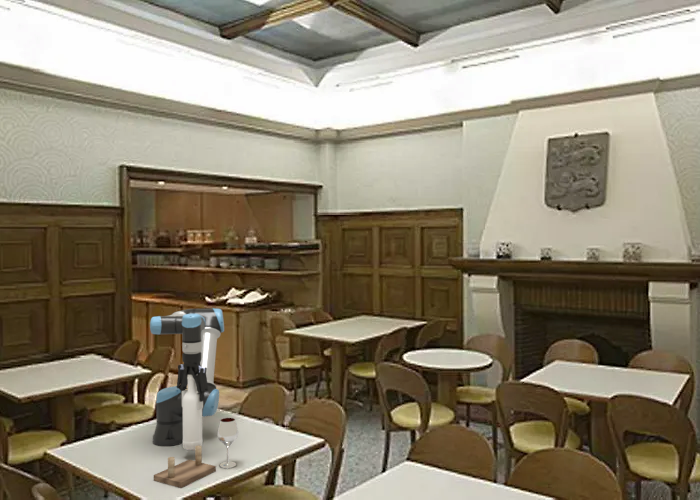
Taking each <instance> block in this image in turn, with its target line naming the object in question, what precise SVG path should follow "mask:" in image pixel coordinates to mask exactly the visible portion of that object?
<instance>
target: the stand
mask: <svg viewBox="0 0 700 500" xmlns="http://www.w3.org/2000/svg"><path fill="white" fill-rule="evenodd" d="M202 448H203V445H202V446H200V445H198V446H195V450H194V454H195V455H194V456H195V457H194V459H195V460H194V459H193V460H192V459H187V460H184V461H183V462H180V463H178V464H176V463H175V461H176V458H175V456H168V458H167V469H164V470H162V471H159V472H157V473H155V474H153V481H154V482H157V483H162V484H164V485H168V486H172V487H175V488H180V489H182V488H183V489H184V488H185V487H186V486H189V485H190V484H192V483H194V482H197V481H199V480H201V479H203V478H205V477H208V476H209V475H210V474H213V473H215V472H216V471H217V468H216V467H217V466H216V465H213V464H209V463H205V462H203V461H202V460H203V459H202V458H203V456H202V455H203V453H202V452H203V450H202Z"/></svg>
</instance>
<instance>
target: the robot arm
mask: <svg viewBox="0 0 700 500" xmlns="http://www.w3.org/2000/svg"><path fill="white" fill-rule="evenodd" d="M224 321H225V320H224V313H223V310H222V309H221V308H214V307H212V308H187V309H182V310H179V311H174V312H173V313H171V314H170V315H163V316H162V315H158V316H152V317H151V318H150V322H149V328H150V329H149V330H150V334H152V335H182V336H181V337H182V344H181V346H182V348H181V349H182V354H181V355H182V362H183V363H182V364H178V365H177V371H178V372H177V380H176V381H177V382H176V385H175V386H170V387H169V386H168V387H165V388H162V389H160V390H159V391H158V392H157V394H156V401H155V403H156V405H155V406H156V425H155V429H154V431H153V435H152V444H153V445H155V446H161V447H168V446H169V447H171V446H176V445H180V444H183V397H184V395H185V394H186V392H187V391H188V379H187V377H188V374H189V375H192V376H193V378H194V380H195V383H196V386H197V391H198V393H197V410H200V409H202V418H203V417H204V418H205V417H212V416H215V414H216V412H217V410H218V406H219V401H220V389H219V388H218V389H217V385H216V384H215V383H214V379H215V366H216V365H215V364H216V355H217V344H218V342H217V341H218V339H219V338H220V337H221V333H224V332H225V323H224Z"/></svg>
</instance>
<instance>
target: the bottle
mask: <svg viewBox="0 0 700 500" xmlns="http://www.w3.org/2000/svg"><path fill="white" fill-rule="evenodd" d="M187 379H188V384H187V390H188V391H187V392H186V394H185V395H184V397H183V443H182V448H183V450H186V451H195V446H198V445H200V446H202V447H203V444H204V443H203V442H204V441H203V416H202V409H200V410H197V393H198V391H197V386H196V383H195V380H194V378H193V376H192V375H189V374H188V377H187Z"/></svg>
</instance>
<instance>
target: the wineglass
mask: <svg viewBox="0 0 700 500" xmlns="http://www.w3.org/2000/svg"><path fill="white" fill-rule="evenodd" d="M216 434H217V435H216V436H217V439H218V440H219V442H220V443H222V444H223V445H224V446H225V447H226V461H225V462H222V463H220V464H219V467H220V468H222V469H232V468H234V467H236V465H237V463H236V462H234V461H230V447H231V445H233V443H234V442H235V441H236V440H237V439H238V437H239V428H238V425H237V422H236V419H235V418H233V417H225V418H221V419H219V424H218V428H217V433H216Z"/></svg>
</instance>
